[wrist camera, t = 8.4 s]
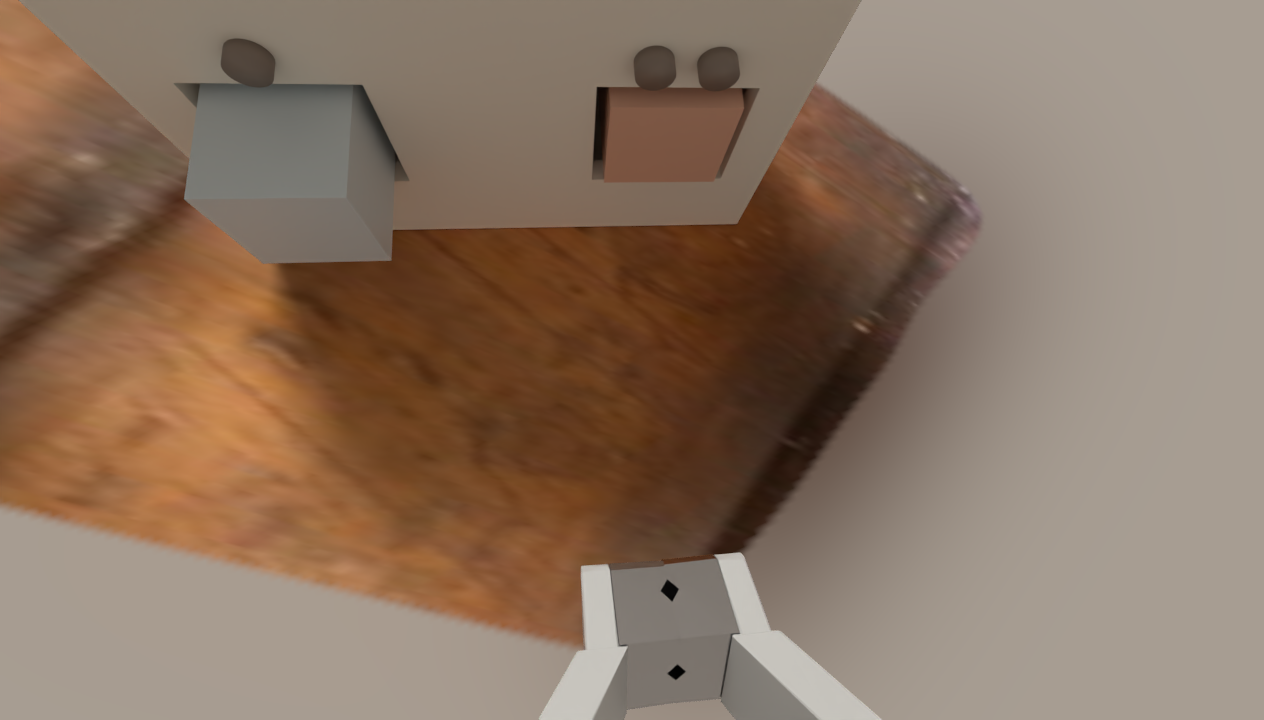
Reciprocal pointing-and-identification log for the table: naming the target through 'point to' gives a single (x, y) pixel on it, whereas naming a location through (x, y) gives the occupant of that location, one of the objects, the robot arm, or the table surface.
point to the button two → (666, 132)
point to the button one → (294, 171)
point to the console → (482, 88)
